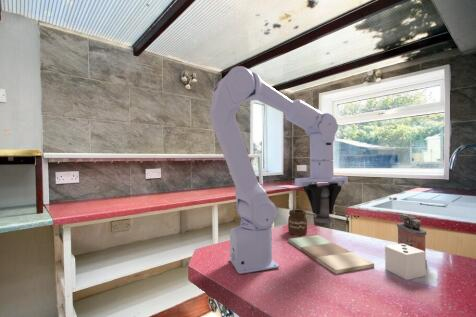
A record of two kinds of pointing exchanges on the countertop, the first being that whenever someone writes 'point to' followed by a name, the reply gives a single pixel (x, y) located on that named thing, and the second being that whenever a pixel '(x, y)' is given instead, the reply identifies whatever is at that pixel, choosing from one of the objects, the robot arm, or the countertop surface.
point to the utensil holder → (297, 221)
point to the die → (405, 261)
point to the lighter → (411, 233)
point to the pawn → (323, 207)
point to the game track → (330, 254)
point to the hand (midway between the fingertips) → (322, 213)
